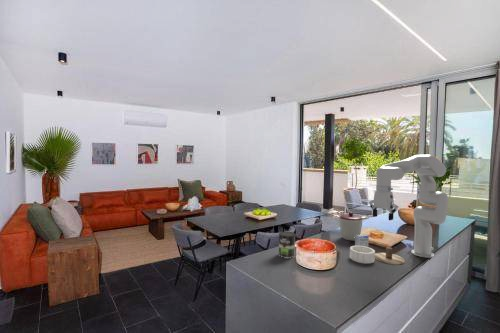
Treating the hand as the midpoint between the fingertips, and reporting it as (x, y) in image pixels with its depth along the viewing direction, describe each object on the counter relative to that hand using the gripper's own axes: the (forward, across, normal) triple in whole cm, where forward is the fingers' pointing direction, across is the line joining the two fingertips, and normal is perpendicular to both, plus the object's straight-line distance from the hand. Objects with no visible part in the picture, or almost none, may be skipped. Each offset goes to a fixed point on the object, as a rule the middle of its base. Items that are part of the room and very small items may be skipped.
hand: (382, 218), depth 151 cm
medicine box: (+28, +27, -18) cm, 43 cm away
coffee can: (+28, +40, +38) cm, 62 cm away
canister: (+28, +44, -27) cm, 59 cm away
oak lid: (+29, +5, -15) cm, 33 cm away
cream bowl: (+28, +13, 0) cm, 31 cm away
